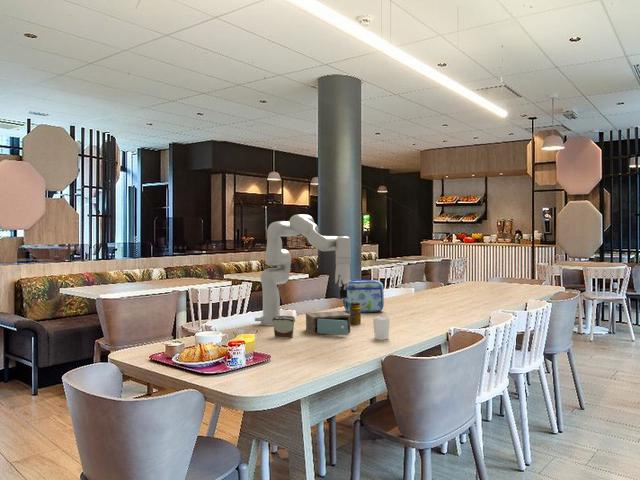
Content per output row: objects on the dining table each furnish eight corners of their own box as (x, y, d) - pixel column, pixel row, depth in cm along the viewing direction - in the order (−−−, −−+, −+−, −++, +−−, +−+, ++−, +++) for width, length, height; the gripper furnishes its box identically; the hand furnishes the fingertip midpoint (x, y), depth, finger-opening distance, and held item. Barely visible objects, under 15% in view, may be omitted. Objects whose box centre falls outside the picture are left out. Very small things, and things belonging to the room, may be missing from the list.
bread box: (313, 334, 264) (313, 317, 264) (306, 329, 278) (305, 313, 278) (350, 332, 270) (350, 314, 270) (341, 327, 284) (341, 310, 283)
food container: (299, 335, 263) (299, 316, 262) (294, 338, 257) (294, 318, 257) (276, 334, 267) (276, 315, 266) (271, 336, 261) (271, 316, 261)
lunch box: (342, 312, 335) (341, 279, 334) (345, 309, 345) (344, 278, 345) (382, 313, 329) (382, 280, 328) (384, 310, 339) (384, 278, 339)
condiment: (363, 324, 293) (363, 302, 293) (351, 325, 288) (351, 304, 288) (356, 322, 299) (355, 301, 299) (344, 324, 294) (343, 302, 294)
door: (316, 333, 263) (316, 319, 263) (318, 332, 265) (317, 318, 265) (346, 335, 257) (346, 321, 257) (347, 334, 259) (347, 320, 259)
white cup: (379, 340, 249) (379, 319, 248) (370, 337, 256) (370, 317, 255) (392, 339, 252) (392, 318, 252) (383, 336, 259) (383, 316, 259)
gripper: (341, 260, 270) (342, 295, 271) (330, 261, 256) (331, 299, 257) (355, 260, 267) (355, 296, 268) (344, 262, 253) (345, 299, 254)
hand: (343, 297), depth 262 cm, fingers closed
